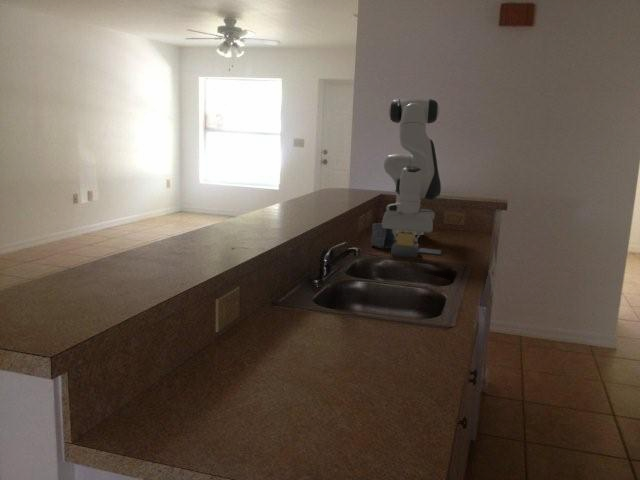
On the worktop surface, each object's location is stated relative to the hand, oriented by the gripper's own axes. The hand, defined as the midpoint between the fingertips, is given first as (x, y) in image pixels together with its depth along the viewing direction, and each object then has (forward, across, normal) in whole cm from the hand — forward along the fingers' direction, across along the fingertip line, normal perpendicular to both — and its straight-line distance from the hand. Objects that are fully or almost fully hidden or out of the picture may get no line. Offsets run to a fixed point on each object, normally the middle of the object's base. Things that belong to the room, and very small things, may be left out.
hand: (405, 241), depth 231 cm
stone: (+6, +11, -10) cm, 16 cm away
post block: (+5, 0, 0) cm, 5 cm away
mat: (+5, -10, -10) cm, 15 cm away
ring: (+1, 0, 0) cm, 1 cm away
